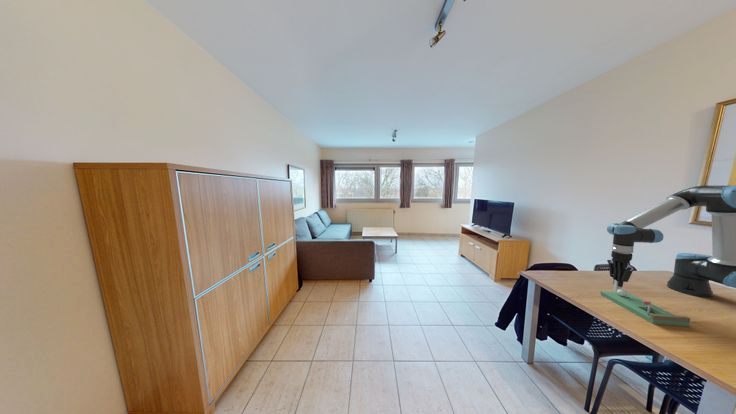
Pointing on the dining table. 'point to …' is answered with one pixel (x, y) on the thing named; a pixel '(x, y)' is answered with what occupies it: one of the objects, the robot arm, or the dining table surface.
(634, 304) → the green
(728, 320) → the dining table surface
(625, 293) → the ball
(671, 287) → the robot arm
